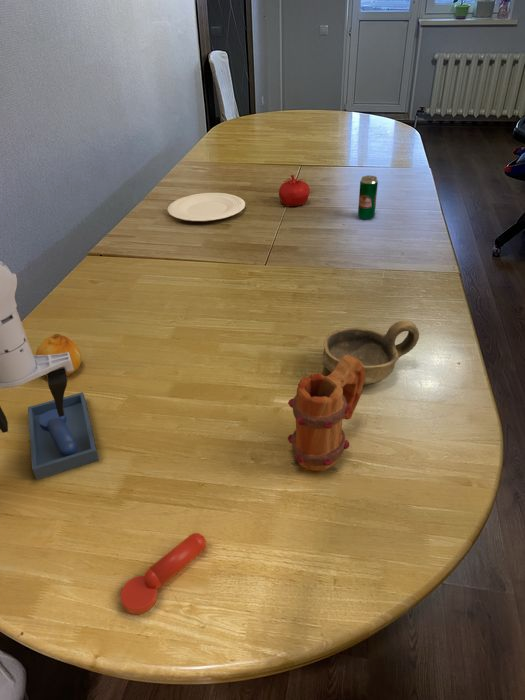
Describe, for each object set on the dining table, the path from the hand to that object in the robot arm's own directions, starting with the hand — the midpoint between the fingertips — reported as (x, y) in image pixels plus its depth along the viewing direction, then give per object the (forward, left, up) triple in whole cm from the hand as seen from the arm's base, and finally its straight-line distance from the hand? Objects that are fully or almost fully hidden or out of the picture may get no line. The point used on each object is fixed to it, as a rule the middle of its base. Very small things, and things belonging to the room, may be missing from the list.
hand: (33, 419), depth 75 cm
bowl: (+52, -22, -10) cm, 57 cm away
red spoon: (+1, -28, -9) cm, 30 cm away
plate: (+86, +65, -10) cm, 108 cm away
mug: (+32, -29, -10) cm, 44 cm away
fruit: (+13, +21, -10) cm, 26 cm away
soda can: (+114, +23, -10) cm, 116 cm away
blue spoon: (+4, +5, -9) cm, 11 cm away
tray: (+4, +4, -9) cm, 11 cm away
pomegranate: (+109, +48, -10) cm, 119 cm away
